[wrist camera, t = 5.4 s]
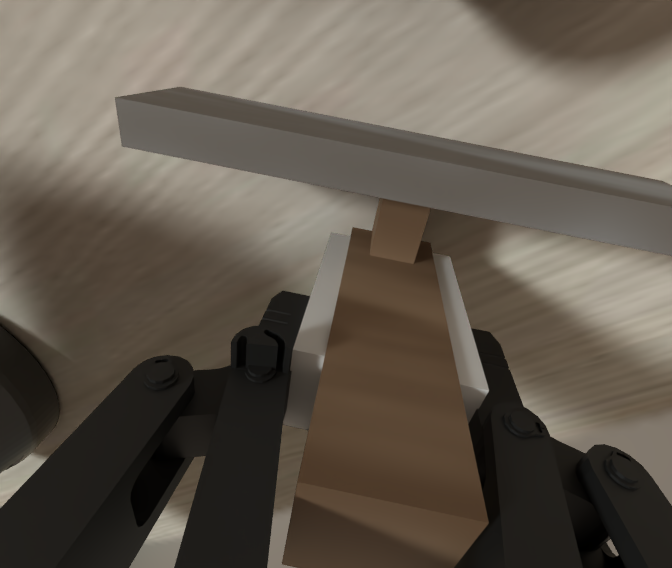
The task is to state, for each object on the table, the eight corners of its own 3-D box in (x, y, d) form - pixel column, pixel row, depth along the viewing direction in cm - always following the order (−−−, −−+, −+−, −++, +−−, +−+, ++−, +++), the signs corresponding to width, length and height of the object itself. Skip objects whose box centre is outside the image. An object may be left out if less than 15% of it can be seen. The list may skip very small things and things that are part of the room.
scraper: (561, 336, 16) (762, 669, 7) (190, 261, 16) (-34, 495, 8) (661, 181, 12) (1297, 480, 4) (180, 86, 12) (-271, 160, 4)
